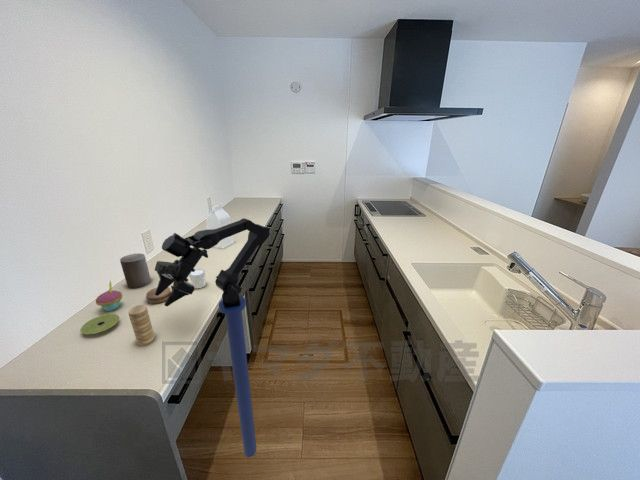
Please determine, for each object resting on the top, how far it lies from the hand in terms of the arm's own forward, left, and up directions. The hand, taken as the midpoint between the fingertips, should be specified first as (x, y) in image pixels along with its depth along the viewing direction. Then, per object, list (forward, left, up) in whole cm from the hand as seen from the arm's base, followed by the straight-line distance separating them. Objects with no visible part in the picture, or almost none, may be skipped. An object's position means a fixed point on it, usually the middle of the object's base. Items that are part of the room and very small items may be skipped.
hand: (160, 300), depth 92 cm
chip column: (+6, +3, -13) cm, 15 cm away
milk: (-18, -82, -13) cm, 84 cm away
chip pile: (+7, -24, -13) cm, 28 cm away
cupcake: (+24, -22, -13) cm, 35 cm away
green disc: (+23, -9, -13) cm, 28 cm away
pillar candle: (+19, -41, -13) cm, 47 cm away
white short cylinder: (-8, -30, -13) cm, 33 cm away
